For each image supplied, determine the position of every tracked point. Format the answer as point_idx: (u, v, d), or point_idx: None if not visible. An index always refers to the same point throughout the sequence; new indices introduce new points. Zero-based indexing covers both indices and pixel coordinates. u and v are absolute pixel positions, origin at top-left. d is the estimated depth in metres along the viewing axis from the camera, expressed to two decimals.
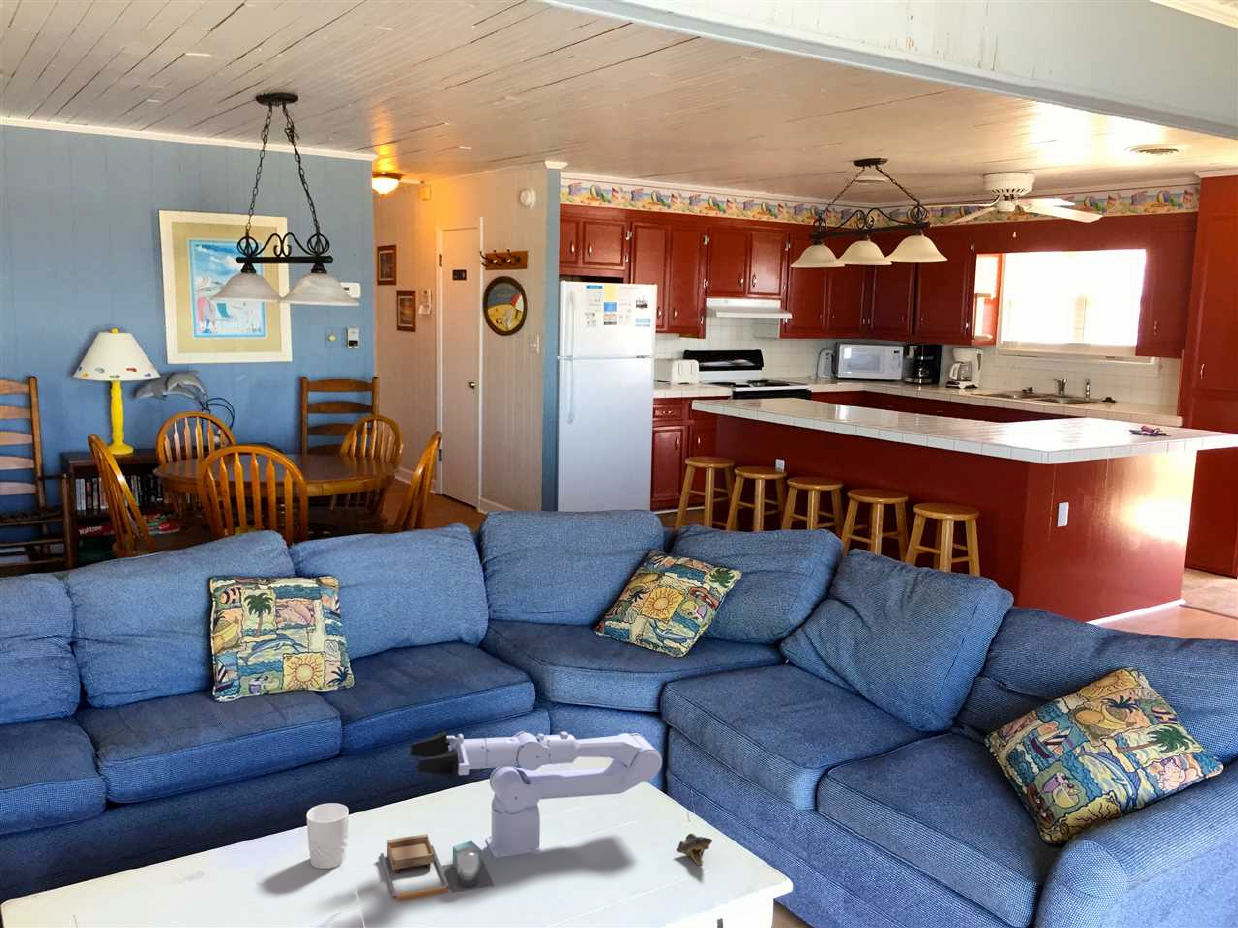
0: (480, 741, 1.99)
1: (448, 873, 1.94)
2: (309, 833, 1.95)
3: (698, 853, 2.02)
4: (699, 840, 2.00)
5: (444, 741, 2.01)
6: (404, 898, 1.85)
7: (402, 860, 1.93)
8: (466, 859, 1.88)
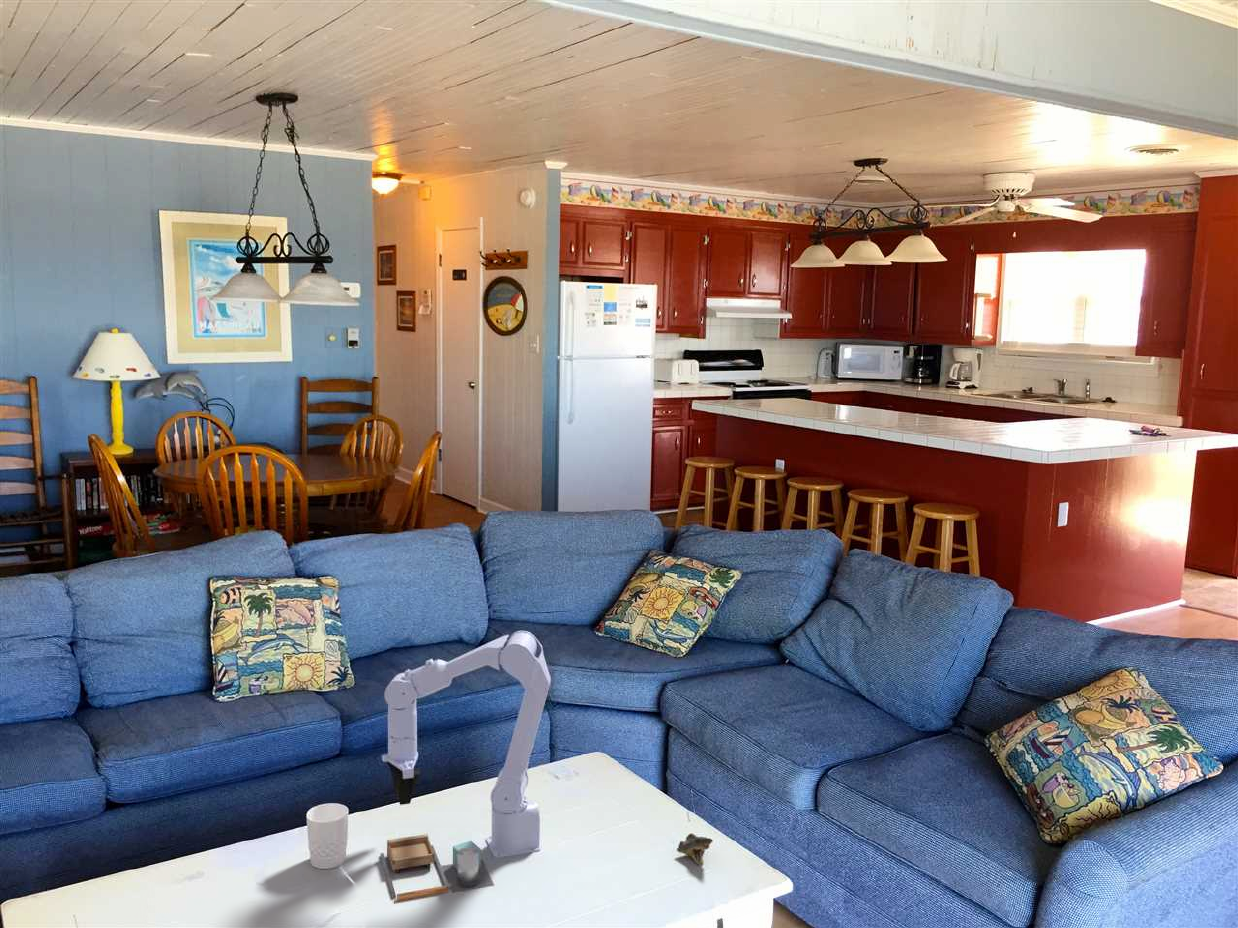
0: (389, 741, 2.02)
1: (448, 873, 1.94)
2: (309, 833, 1.95)
3: (698, 853, 2.02)
4: (700, 840, 2.00)
5: None
6: (404, 898, 1.85)
7: (402, 860, 1.93)
8: (466, 859, 1.88)
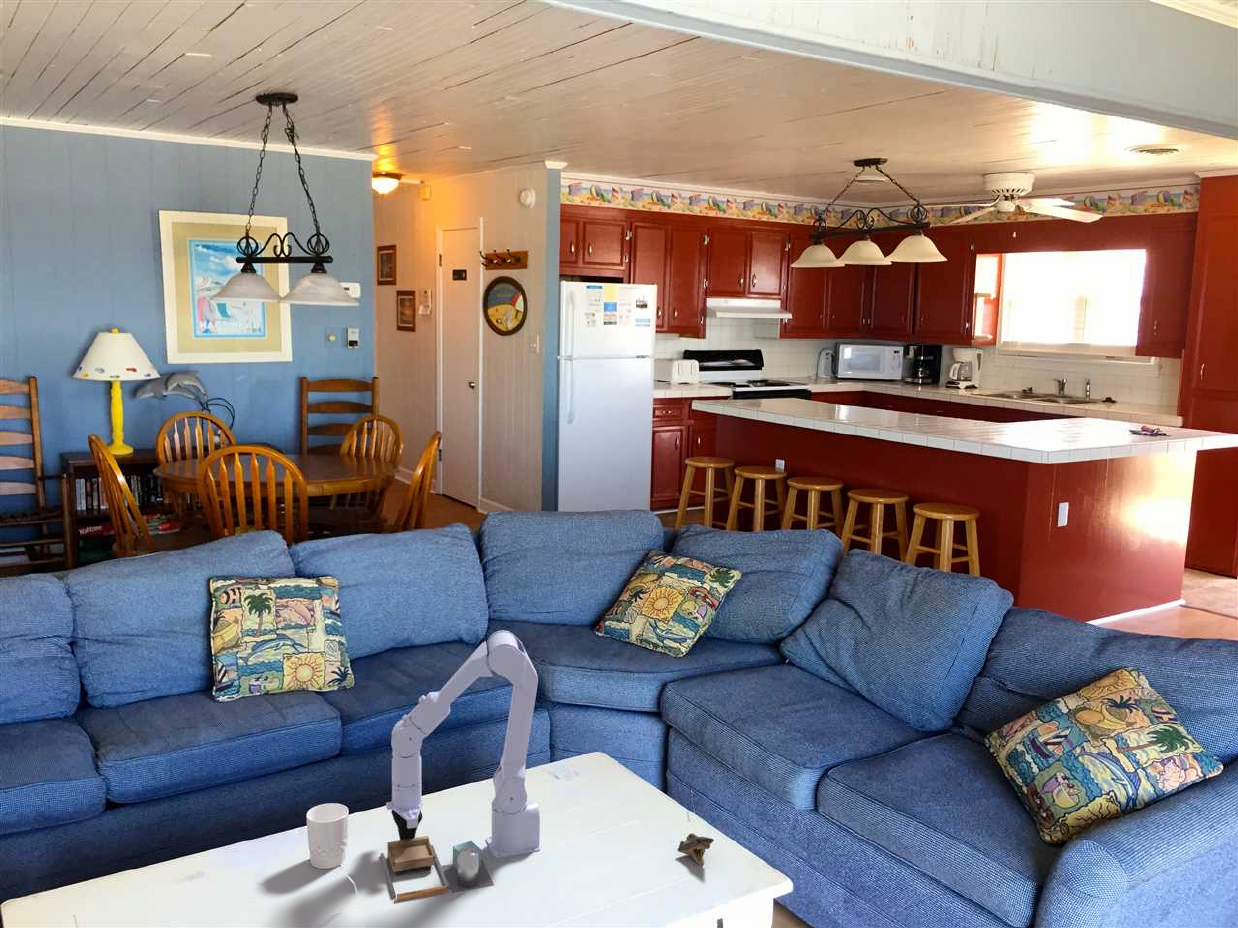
0: (393, 788, 1.98)
1: (448, 873, 1.94)
2: (309, 833, 1.95)
3: (699, 853, 2.02)
4: (700, 840, 2.00)
5: None
6: (404, 898, 1.85)
7: (403, 862, 1.92)
8: (466, 859, 1.88)
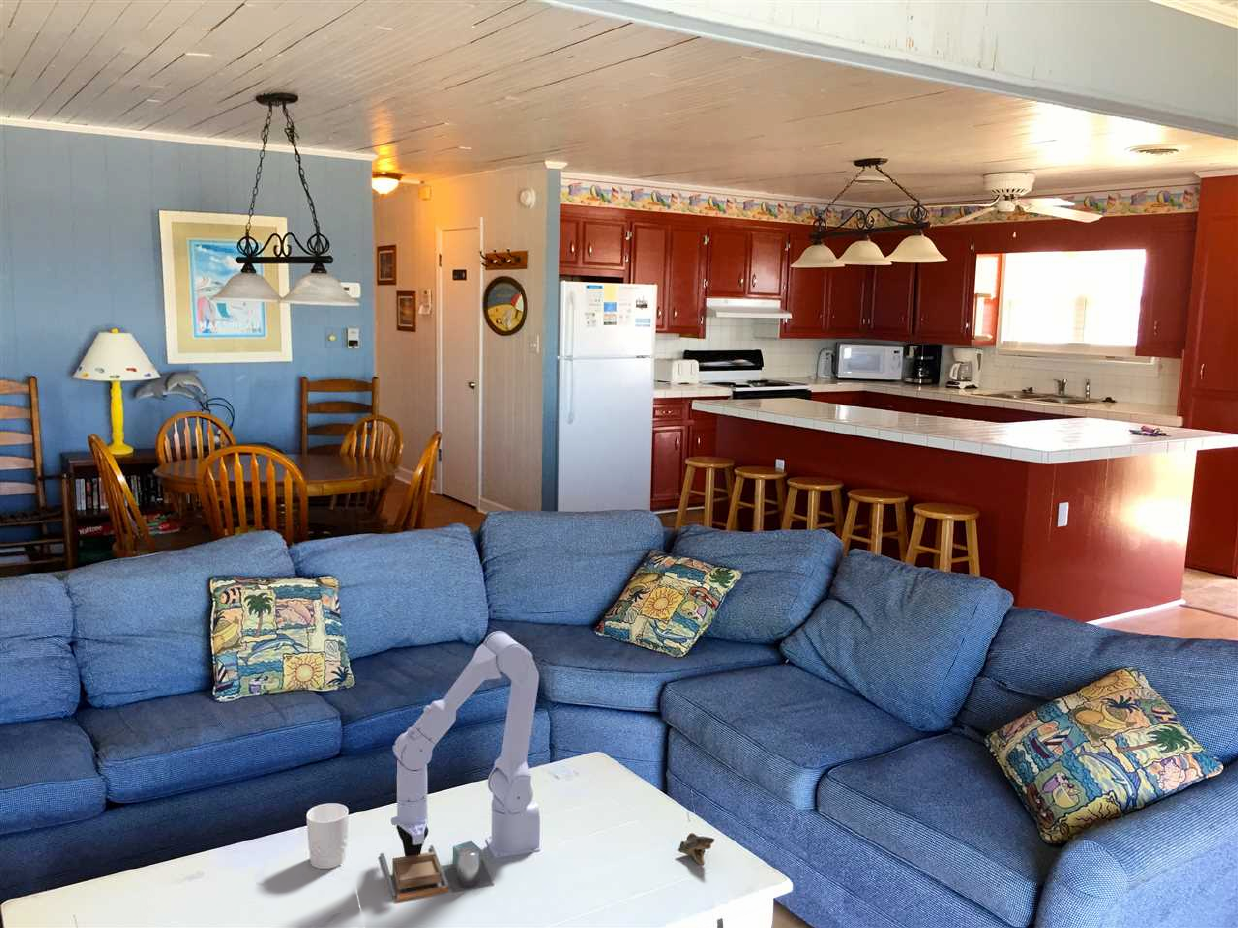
0: (398, 803, 1.92)
1: (448, 873, 1.94)
2: (309, 833, 1.95)
3: (699, 853, 2.02)
4: (701, 840, 2.00)
5: None
6: (404, 898, 1.85)
7: (408, 879, 1.87)
8: (466, 859, 1.88)
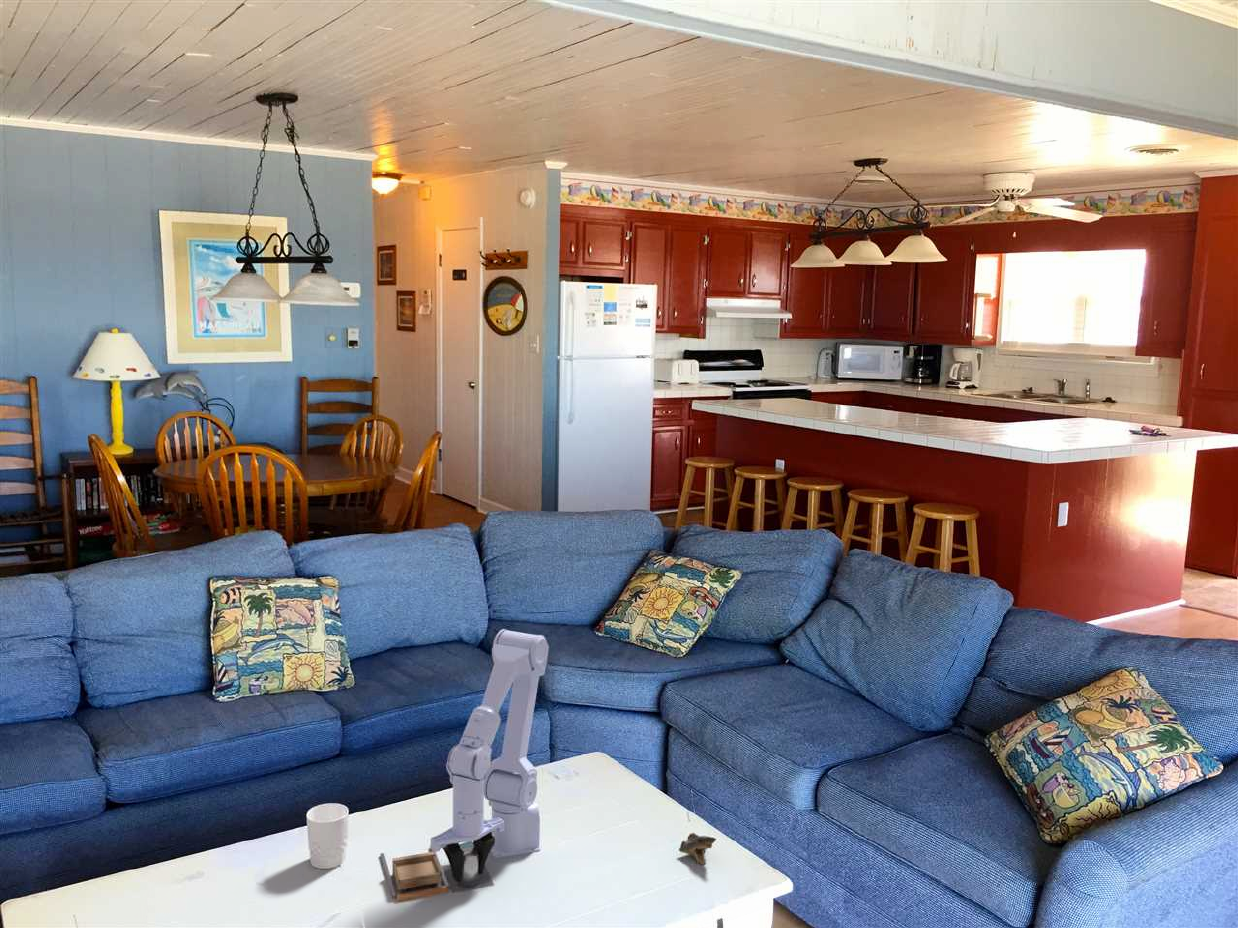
0: None
1: (448, 873, 1.94)
2: (309, 833, 1.95)
3: (701, 852, 2.02)
4: (702, 839, 2.00)
5: None
6: (404, 898, 1.85)
7: (408, 879, 1.87)
8: (466, 859, 1.88)
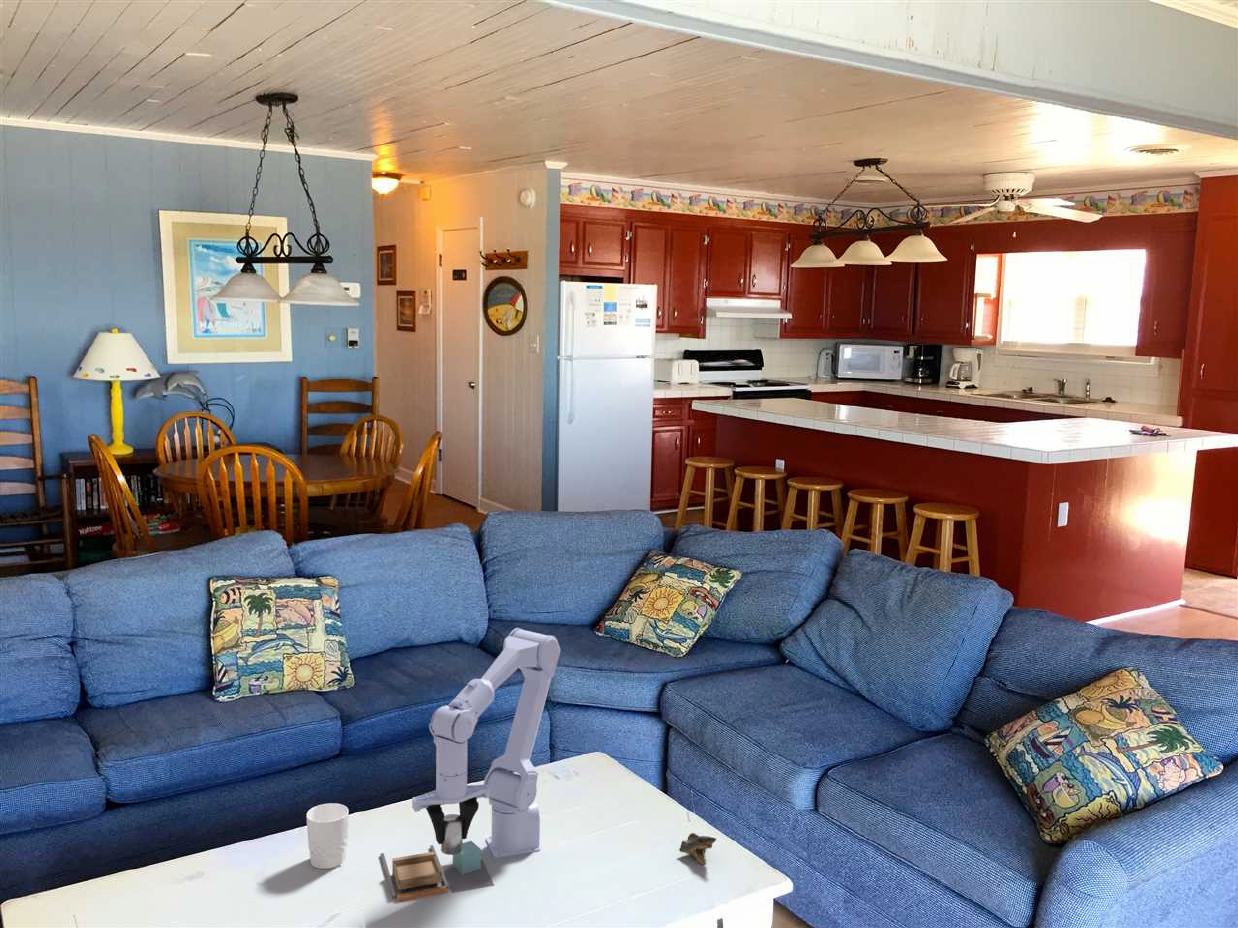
0: None
1: (448, 873, 1.94)
2: (309, 833, 1.95)
3: (701, 852, 2.02)
4: (703, 839, 2.00)
5: None
6: (404, 898, 1.85)
7: (408, 879, 1.87)
8: (449, 825, 1.87)
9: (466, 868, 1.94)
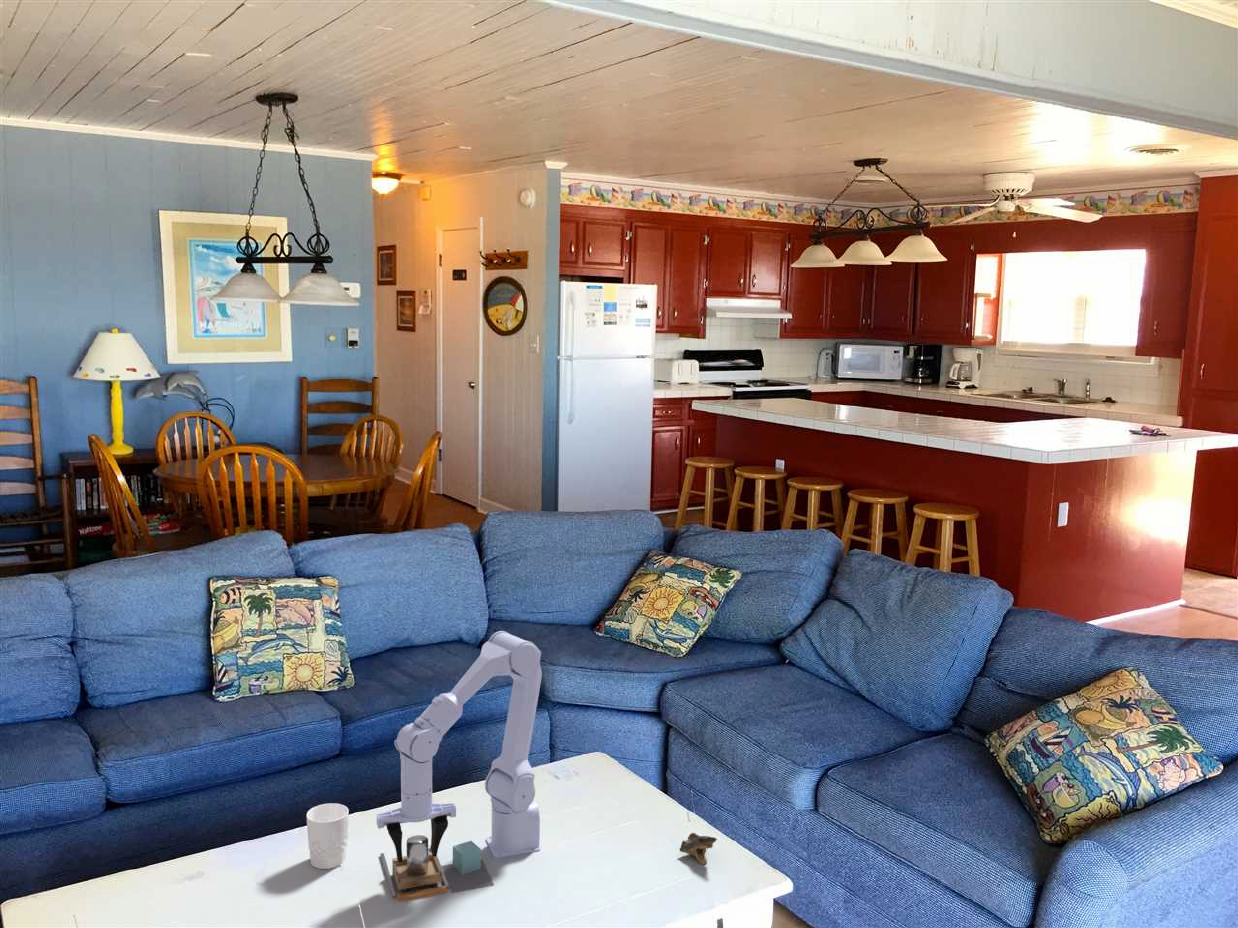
0: None
1: (448, 873, 1.94)
2: (309, 833, 1.95)
3: (701, 852, 2.02)
4: (703, 839, 2.00)
5: (432, 818, 1.92)
6: (404, 898, 1.85)
7: (408, 879, 1.87)
8: (413, 847, 1.88)
9: (466, 868, 1.94)
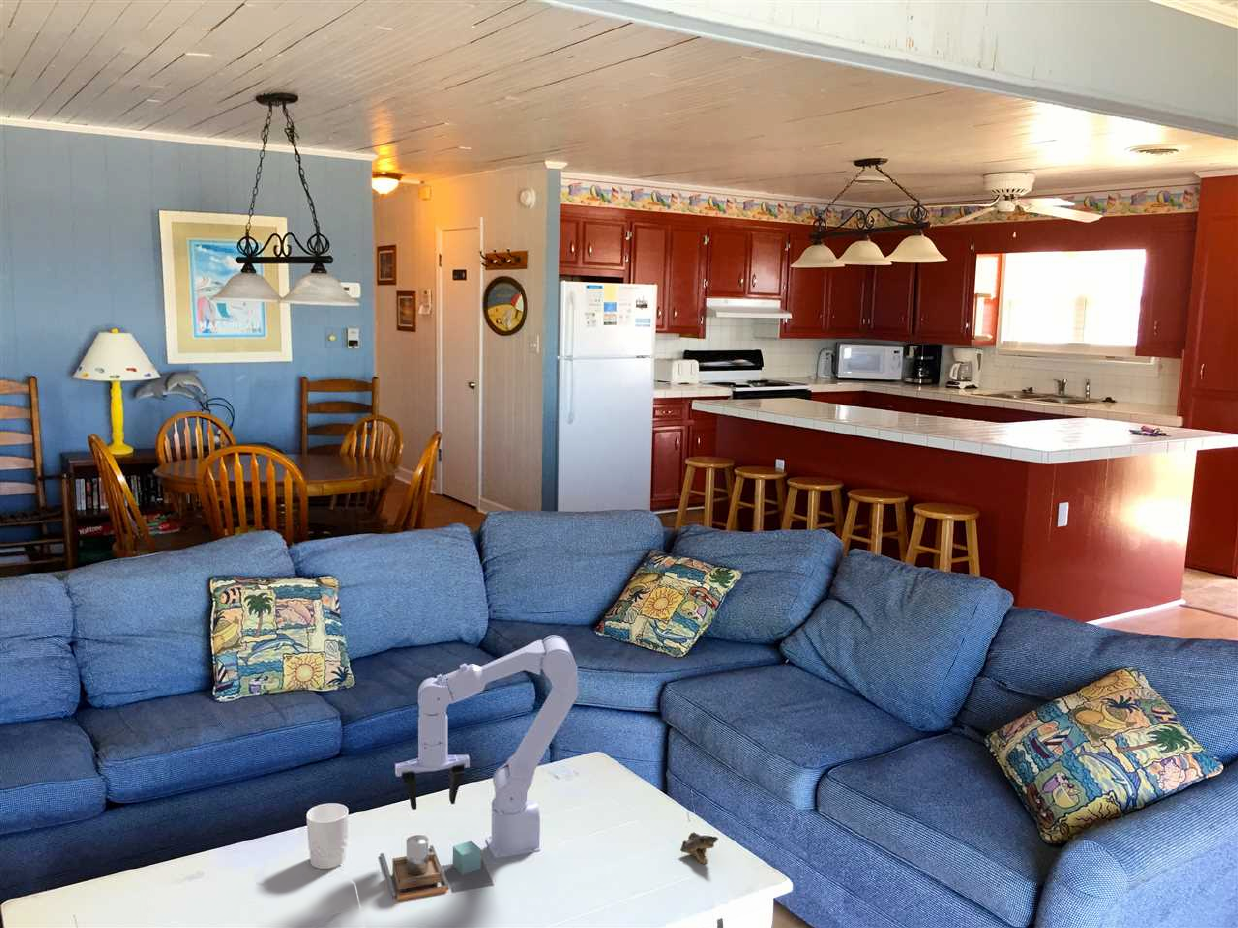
0: None
1: (448, 873, 1.94)
2: (309, 833, 1.95)
3: (702, 852, 2.03)
4: (704, 839, 2.00)
5: (450, 768, 2.03)
6: (404, 898, 1.85)
7: (408, 879, 1.87)
8: (413, 847, 1.88)
9: (466, 868, 1.94)
